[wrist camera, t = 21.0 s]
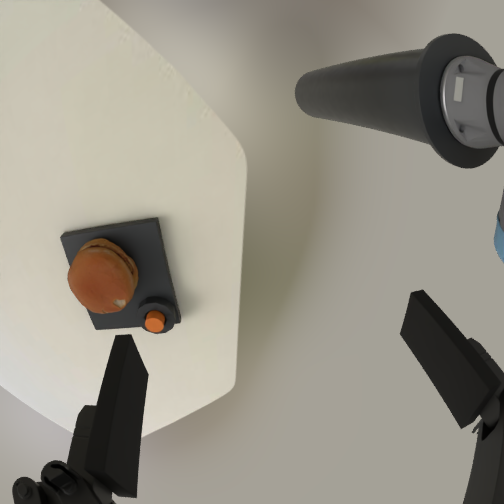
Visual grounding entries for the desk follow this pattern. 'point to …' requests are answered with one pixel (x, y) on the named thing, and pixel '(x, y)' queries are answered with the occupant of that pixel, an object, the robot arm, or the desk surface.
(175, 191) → the desk surface
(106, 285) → the burger
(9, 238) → the desk surface
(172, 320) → the scale
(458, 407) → the robot arm
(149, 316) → the button
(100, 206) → the desk surface
